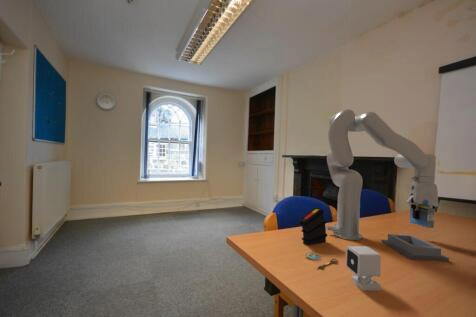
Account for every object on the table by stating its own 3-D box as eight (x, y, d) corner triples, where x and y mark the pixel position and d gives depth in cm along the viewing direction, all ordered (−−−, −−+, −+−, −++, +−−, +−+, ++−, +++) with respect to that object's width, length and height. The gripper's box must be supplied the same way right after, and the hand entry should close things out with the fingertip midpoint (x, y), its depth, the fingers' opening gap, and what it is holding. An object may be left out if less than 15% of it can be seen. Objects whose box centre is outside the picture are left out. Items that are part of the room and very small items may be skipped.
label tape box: (434, 228, 99) (436, 200, 99) (426, 227, 99) (428, 200, 99) (415, 222, 108) (418, 197, 108) (408, 222, 107) (410, 196, 107)
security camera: (345, 279, 66) (346, 245, 66) (367, 278, 67) (368, 245, 67) (358, 291, 60) (359, 254, 60) (382, 291, 60) (383, 254, 60)
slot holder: (409, 259, 82) (410, 247, 82) (381, 242, 99) (381, 232, 99) (448, 261, 81) (449, 249, 81) (413, 243, 98) (414, 234, 98)
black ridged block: (331, 237, 97) (322, 208, 94) (312, 255, 92) (301, 224, 89) (324, 234, 101) (315, 206, 98) (305, 251, 95) (295, 221, 92)
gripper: (411, 179, 100) (408, 219, 100) (449, 182, 99) (447, 222, 99) (399, 178, 108) (397, 215, 107) (435, 180, 107) (433, 218, 107)
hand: (421, 218), depth 103 cm, fingers closed on label tape box, 4 cm apart
